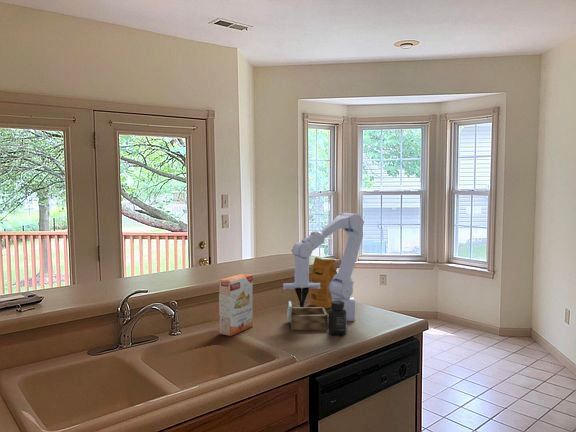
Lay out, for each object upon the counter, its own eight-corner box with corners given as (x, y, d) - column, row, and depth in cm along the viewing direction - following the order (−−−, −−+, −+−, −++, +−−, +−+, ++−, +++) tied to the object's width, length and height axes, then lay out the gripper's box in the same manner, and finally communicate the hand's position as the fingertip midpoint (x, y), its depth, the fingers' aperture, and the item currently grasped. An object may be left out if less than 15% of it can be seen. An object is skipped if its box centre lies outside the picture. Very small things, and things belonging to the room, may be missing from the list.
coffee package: (320, 301, 228) (320, 255, 226) (340, 306, 219) (340, 258, 217) (305, 304, 221) (305, 257, 219) (326, 310, 212) (326, 260, 210)
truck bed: (324, 320, 197) (324, 307, 197) (327, 329, 185) (327, 315, 185) (290, 320, 197) (290, 307, 196) (291, 329, 185) (291, 315, 184)
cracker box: (231, 337, 176) (230, 281, 175) (218, 334, 180) (217, 279, 178) (253, 327, 188) (253, 274, 187) (241, 324, 192) (241, 272, 190)
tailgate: (289, 316, 195) (291, 301, 195) (290, 323, 186) (292, 307, 185) (287, 316, 195) (288, 301, 195) (287, 323, 186) (289, 307, 185)
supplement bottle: (348, 332, 182) (349, 301, 181) (343, 337, 176) (343, 305, 175) (331, 329, 185) (331, 299, 184) (325, 335, 178) (325, 303, 177)
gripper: (283, 274, 185) (283, 309, 186) (321, 274, 185) (321, 309, 186) (283, 271, 192) (283, 304, 193) (319, 271, 192) (319, 304, 194)
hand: (301, 306), depth 190 cm, fingers closed
